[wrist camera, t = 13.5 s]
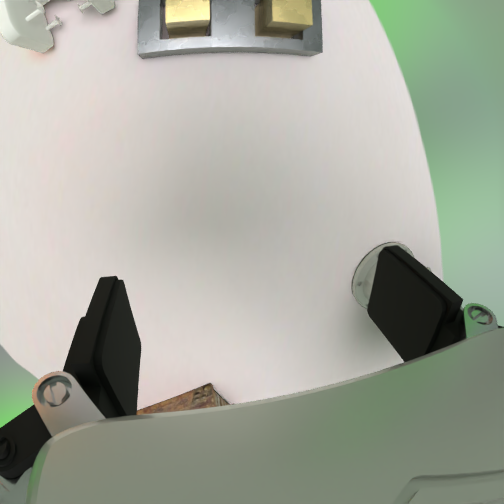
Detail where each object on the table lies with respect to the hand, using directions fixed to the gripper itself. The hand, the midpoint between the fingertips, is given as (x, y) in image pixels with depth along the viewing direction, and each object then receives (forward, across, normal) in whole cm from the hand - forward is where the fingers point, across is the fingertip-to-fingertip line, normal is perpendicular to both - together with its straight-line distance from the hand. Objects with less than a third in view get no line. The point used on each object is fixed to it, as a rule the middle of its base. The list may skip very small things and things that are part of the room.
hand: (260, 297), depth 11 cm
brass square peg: (+28, +2, -17) cm, 33 cm away
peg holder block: (+28, -3, -17) cm, 33 cm away
